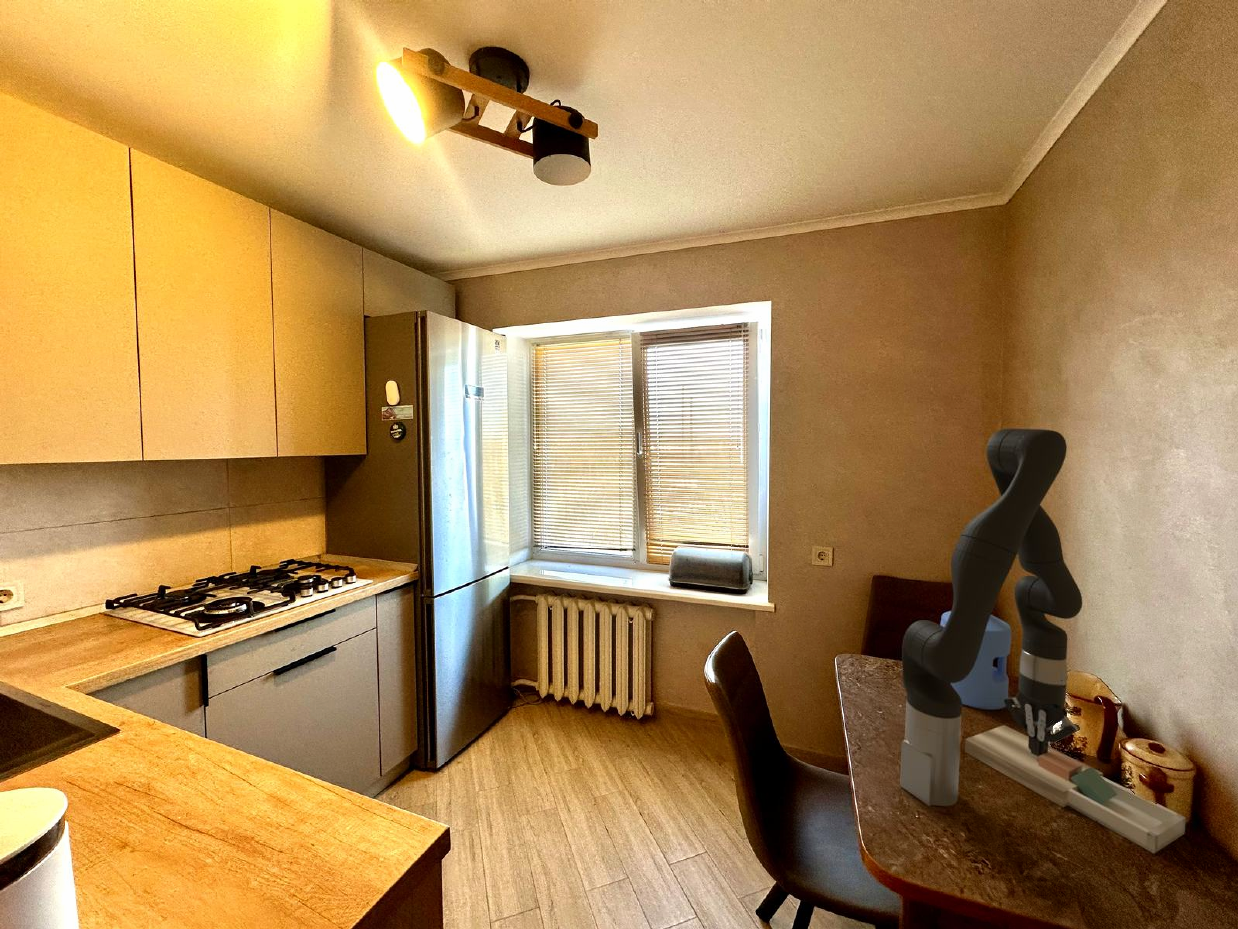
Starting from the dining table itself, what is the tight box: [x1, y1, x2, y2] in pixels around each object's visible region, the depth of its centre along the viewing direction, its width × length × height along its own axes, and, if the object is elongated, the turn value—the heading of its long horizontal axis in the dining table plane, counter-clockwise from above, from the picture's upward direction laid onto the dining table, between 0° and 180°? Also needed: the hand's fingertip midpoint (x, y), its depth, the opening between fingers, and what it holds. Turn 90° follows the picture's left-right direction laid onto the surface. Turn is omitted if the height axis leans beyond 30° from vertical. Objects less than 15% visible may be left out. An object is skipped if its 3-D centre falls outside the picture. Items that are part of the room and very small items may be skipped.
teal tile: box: [1070, 766, 1118, 804], centre depth 96 cm, size 5×5×2 cm
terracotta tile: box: [1038, 750, 1083, 781], centre depth 101 cm, size 5×5×2 cm
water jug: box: [940, 610, 1013, 711], centre depth 135 cm, size 16×16×28 cm
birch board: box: [964, 724, 1104, 808], centre depth 105 cm, size 14×18×3 cm
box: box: [1067, 776, 1187, 854], centre depth 92 cm, size 11×12×3 cm
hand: (1037, 754), depth 104 cm, fingers closed
